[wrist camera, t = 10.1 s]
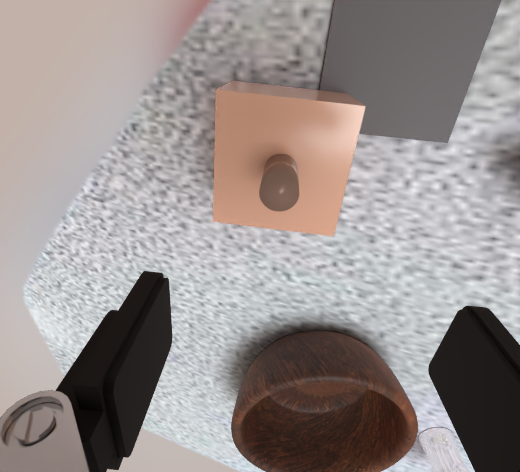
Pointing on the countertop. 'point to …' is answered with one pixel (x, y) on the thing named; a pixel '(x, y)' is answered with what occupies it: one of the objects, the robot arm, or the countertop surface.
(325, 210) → the cover
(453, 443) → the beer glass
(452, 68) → the mat
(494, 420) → the robot arm
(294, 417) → the wooden bowl
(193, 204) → the countertop surface
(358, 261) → the countertop surface
